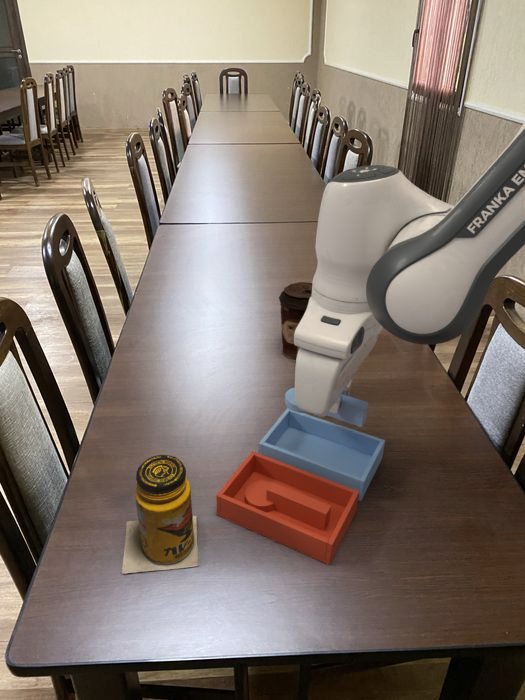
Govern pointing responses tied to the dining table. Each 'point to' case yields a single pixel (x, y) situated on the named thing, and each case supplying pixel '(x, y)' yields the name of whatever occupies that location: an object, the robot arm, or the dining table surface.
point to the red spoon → (288, 503)
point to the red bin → (279, 524)
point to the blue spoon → (348, 412)
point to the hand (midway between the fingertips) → (336, 403)
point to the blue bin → (324, 449)
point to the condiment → (161, 519)
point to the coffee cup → (293, 313)
